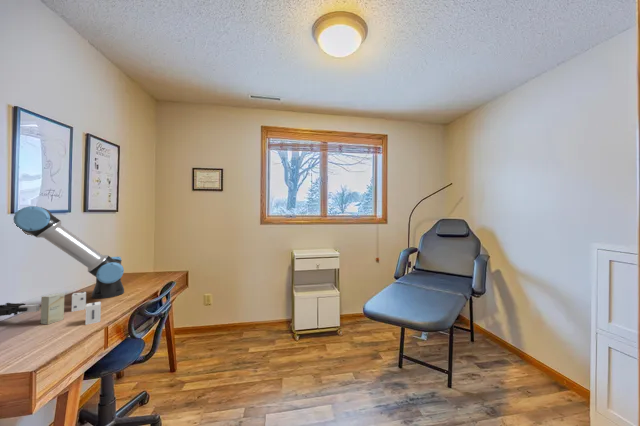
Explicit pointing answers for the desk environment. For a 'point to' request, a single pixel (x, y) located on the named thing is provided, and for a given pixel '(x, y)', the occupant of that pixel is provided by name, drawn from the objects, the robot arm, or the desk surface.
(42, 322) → the skincare box
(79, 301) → the marked block two
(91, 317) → the marked block one
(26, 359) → the desk surface
